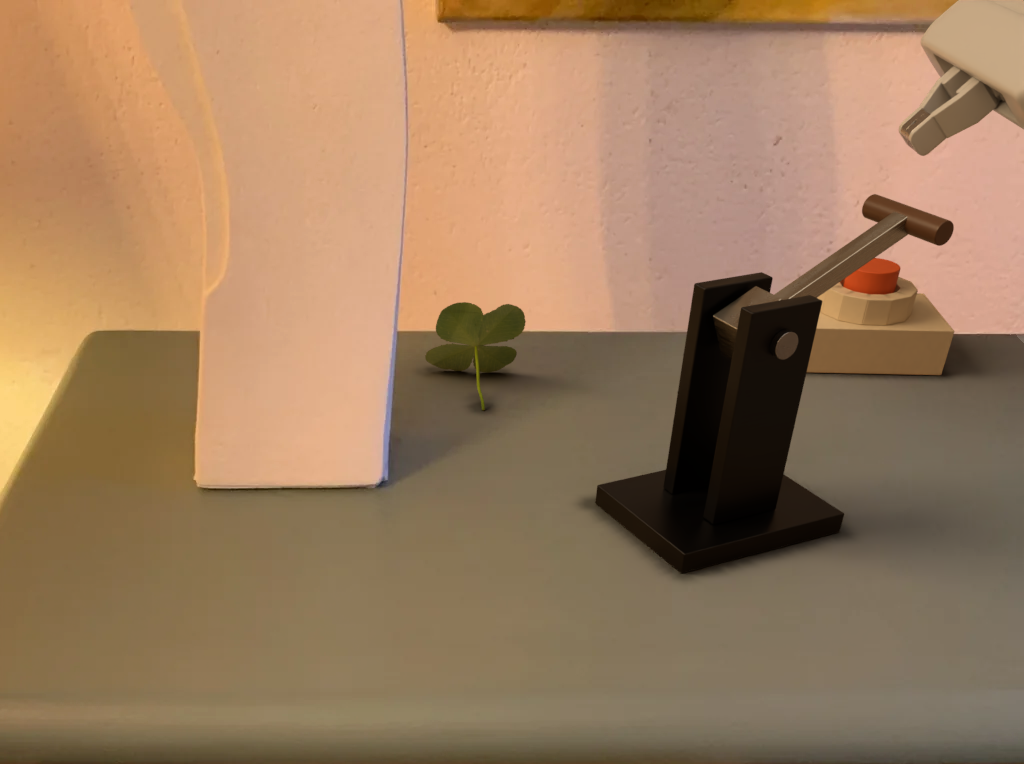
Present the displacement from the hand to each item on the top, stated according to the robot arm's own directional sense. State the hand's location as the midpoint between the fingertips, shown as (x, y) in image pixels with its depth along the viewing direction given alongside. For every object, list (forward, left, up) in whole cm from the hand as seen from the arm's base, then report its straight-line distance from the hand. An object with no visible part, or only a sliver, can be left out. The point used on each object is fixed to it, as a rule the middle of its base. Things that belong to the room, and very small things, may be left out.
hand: (908, 143), depth 77 cm
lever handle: (-1, +26, -2) cm, 26 cm away
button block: (0, 0, -14) cm, 14 cm away
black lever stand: (+2, +30, -14) cm, 33 cm away
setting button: (0, 0, -10) cm, 10 cm away
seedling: (+24, +19, -14) cm, 33 cm away
